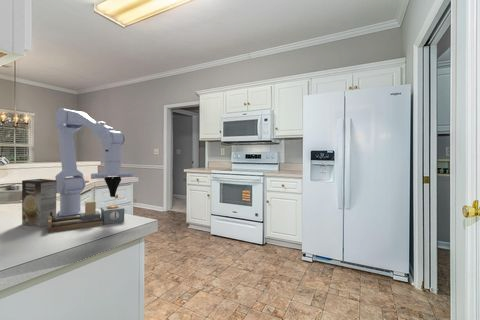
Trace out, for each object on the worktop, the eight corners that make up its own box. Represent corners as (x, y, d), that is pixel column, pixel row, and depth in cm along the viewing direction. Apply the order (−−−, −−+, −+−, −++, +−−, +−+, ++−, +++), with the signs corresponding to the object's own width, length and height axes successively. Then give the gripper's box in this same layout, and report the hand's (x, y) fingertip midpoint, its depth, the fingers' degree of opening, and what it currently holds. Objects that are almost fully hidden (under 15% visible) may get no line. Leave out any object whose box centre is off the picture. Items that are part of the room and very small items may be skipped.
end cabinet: (100, 219, 98) (101, 207, 97) (120, 217, 102) (120, 205, 102) (104, 224, 92) (104, 210, 92) (124, 221, 96) (124, 208, 96)
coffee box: (20, 224, 89) (20, 180, 89) (39, 220, 96) (39, 178, 95) (39, 227, 87) (39, 181, 86) (57, 222, 93) (57, 179, 93)
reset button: (107, 216, 97) (107, 206, 97) (116, 215, 99) (116, 205, 99) (108, 218, 95) (108, 207, 95) (117, 217, 97) (118, 206, 97)
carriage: (80, 218, 93) (80, 201, 92) (98, 216, 96) (98, 199, 96) (81, 221, 89) (81, 203, 88) (100, 219, 92) (100, 201, 92)
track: (48, 225, 88) (48, 216, 88) (99, 219, 98) (99, 210, 98) (47, 232, 81) (47, 222, 81) (102, 224, 91) (103, 215, 91)
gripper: (92, 162, 89) (92, 200, 89) (135, 162, 98) (134, 196, 98) (90, 161, 94) (90, 197, 95) (130, 161, 103) (130, 193, 104)
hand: (112, 196), depth 97 cm, fingers closed
